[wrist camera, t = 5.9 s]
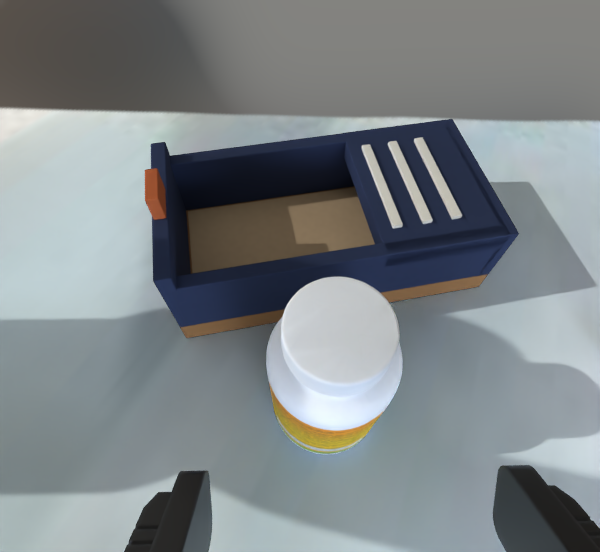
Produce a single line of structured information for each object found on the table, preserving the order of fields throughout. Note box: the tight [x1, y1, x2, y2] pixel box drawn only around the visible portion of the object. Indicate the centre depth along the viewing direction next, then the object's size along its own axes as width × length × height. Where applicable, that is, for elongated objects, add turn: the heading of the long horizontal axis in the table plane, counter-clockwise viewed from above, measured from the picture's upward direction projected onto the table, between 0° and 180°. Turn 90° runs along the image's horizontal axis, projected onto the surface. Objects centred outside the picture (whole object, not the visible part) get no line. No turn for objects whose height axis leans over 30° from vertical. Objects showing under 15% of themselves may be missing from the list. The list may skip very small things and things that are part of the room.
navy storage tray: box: [145, 119, 519, 338], centre depth 24 cm, size 18×9×8 cm, turn 101°
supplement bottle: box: [266, 277, 403, 454], centre depth 18 cm, size 5×5×10 cm
